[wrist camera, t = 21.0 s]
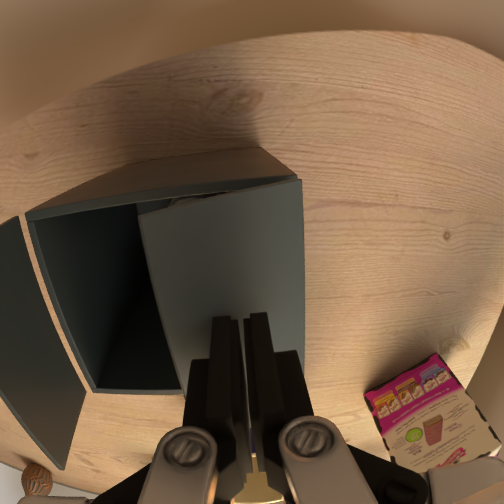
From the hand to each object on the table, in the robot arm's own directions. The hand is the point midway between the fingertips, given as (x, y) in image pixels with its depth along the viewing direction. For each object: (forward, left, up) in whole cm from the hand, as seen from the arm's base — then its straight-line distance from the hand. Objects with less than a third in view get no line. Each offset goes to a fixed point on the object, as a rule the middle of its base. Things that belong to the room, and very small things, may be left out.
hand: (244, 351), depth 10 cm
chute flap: (0, 0, -1) cm, 1 cm away
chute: (0, -3, -17) cm, 17 cm away
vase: (+48, -47, -17) cm, 69 cm away
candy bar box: (+24, +19, -17) cm, 35 cm away
